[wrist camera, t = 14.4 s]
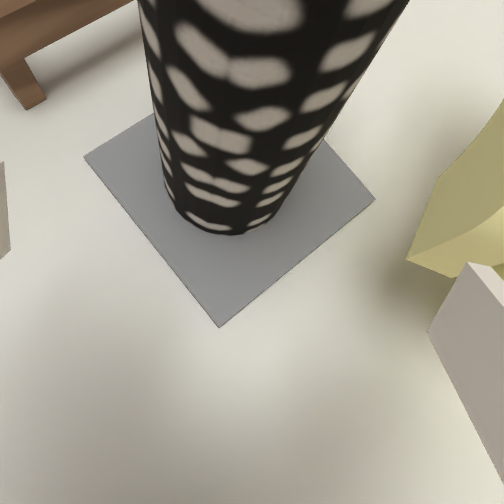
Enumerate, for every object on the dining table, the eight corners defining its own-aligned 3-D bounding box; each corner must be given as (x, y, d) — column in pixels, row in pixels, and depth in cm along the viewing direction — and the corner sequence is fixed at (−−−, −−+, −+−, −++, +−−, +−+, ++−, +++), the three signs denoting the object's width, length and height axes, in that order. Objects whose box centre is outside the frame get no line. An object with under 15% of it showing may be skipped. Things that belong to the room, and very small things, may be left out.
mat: (84, 159, 27) (83, 156, 27) (248, 57, 31) (249, 53, 31) (218, 327, 26) (219, 327, 26) (373, 200, 30) (375, 199, 29)
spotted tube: (253, 104, 30) (373, -360, 10) (308, 205, 28) (560, -106, 9) (143, 145, 28) (36, -331, 8) (196, 256, 26) (216, -3, 7)
